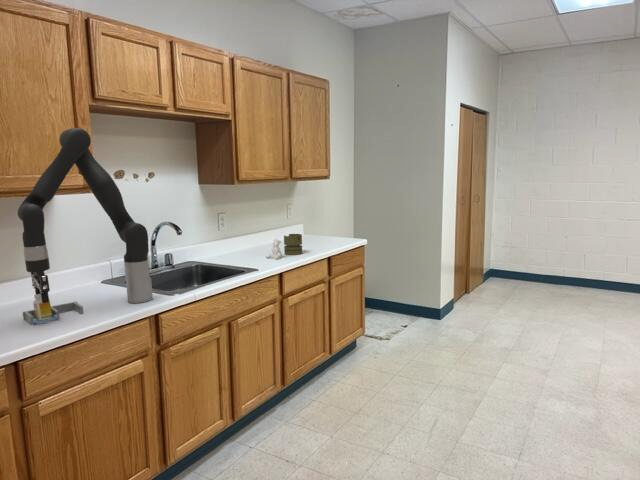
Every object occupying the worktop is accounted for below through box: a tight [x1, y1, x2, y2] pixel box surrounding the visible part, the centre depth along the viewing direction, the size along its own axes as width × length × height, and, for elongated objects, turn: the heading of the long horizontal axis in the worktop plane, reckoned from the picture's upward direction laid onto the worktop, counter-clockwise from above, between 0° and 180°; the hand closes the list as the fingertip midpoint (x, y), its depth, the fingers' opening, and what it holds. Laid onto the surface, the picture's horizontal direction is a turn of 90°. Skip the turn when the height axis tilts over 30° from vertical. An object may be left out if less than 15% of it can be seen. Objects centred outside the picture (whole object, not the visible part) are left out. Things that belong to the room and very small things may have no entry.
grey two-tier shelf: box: [22, 301, 84, 326], centre depth 184 cm, size 19×10×3 cm, turn 133°
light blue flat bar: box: [32, 315, 60, 326], centre depth 178 cm, size 8×1×2 cm, turn 133°
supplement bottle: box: [32, 293, 53, 321], centre depth 179 cm, size 5×5×10 cm
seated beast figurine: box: [265, 238, 283, 261], centre depth 289 cm, size 10×9×12 cm
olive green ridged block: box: [283, 233, 303, 256], centre depth 303 cm, size 11×12×11 cm
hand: (42, 300), depth 179 cm, fingers open, 8 cm apart
